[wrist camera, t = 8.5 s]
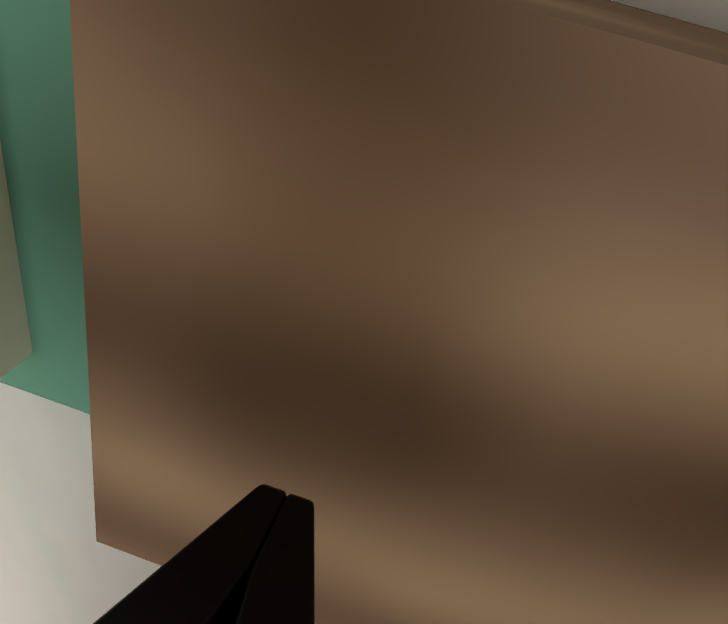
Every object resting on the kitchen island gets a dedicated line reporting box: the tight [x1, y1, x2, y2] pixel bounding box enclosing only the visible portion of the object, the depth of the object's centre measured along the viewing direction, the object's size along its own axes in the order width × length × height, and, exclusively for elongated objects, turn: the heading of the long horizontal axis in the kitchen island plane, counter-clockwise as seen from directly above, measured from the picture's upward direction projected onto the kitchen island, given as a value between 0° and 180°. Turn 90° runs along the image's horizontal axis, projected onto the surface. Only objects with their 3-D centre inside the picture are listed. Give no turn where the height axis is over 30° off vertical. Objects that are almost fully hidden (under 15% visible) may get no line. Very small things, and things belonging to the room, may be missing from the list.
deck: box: [70, 0, 728, 624], centre depth 13 cm, size 14×16×4 cm
